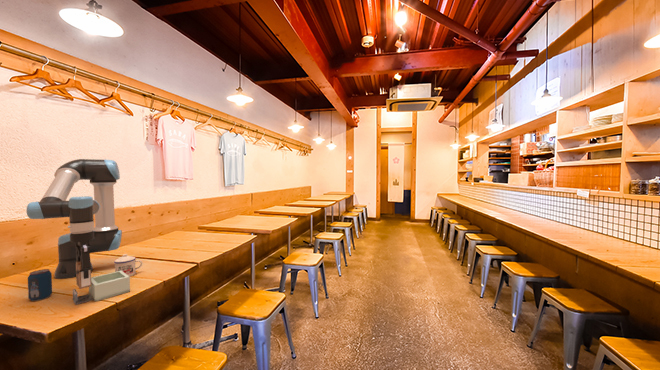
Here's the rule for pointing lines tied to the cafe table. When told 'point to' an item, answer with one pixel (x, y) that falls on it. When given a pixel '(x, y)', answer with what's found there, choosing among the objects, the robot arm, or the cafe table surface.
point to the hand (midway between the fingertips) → (83, 282)
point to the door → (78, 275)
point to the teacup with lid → (126, 264)
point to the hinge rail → (81, 297)
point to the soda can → (39, 285)
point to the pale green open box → (109, 285)
